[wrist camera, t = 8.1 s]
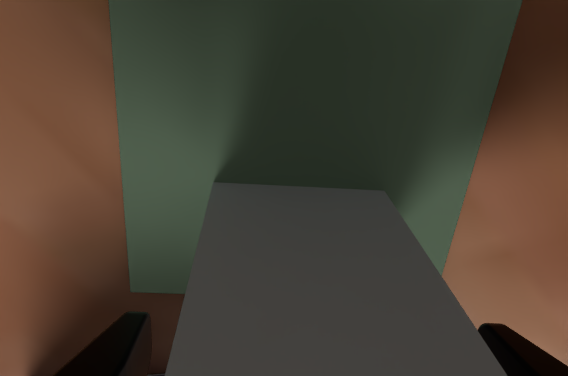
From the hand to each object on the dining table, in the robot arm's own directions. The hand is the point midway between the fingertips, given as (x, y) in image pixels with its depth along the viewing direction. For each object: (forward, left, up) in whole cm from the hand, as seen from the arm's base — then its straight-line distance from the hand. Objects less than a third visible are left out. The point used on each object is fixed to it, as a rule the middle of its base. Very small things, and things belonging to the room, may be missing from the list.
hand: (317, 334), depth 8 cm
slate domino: (0, 0, -5) cm, 5 cm away
